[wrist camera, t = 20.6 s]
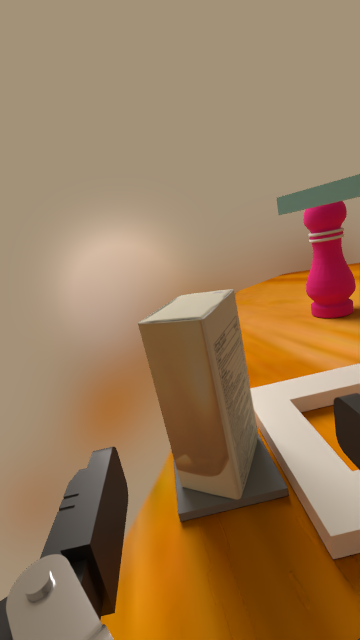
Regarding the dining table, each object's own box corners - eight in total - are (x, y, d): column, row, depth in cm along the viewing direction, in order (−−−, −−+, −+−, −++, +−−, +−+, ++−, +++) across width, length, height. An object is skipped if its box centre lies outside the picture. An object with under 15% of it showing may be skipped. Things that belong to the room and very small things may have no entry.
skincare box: (209, 431, 25) (180, 293, 22) (260, 436, 23) (236, 286, 20) (177, 491, 20) (133, 320, 17) (240, 506, 18) (203, 314, 15)
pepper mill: (327, 322, 46) (315, 186, 41) (300, 313, 53) (287, 196, 48) (367, 311, 47) (361, 176, 42) (336, 304, 54) (327, 187, 49)
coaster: (253, 428, 25) (252, 422, 25) (288, 495, 19) (287, 487, 18) (173, 447, 25) (172, 441, 25) (180, 521, 18) (178, 514, 18)
